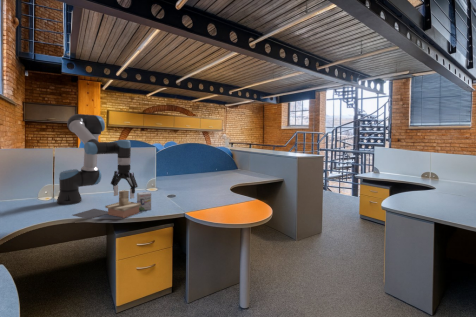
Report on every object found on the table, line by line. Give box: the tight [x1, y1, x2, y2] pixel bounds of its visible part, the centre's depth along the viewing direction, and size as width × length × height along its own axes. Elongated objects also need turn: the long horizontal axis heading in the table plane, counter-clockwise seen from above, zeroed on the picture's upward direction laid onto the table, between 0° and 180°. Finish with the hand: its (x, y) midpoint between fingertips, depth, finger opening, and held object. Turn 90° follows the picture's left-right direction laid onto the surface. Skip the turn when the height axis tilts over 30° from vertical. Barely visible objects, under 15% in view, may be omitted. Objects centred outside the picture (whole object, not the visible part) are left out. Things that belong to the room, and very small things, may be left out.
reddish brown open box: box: [107, 206, 140, 219], centre depth 165 cm, size 13×13×5 cm
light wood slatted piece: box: [104, 189, 141, 211], centre depth 164 cm, size 15×15×10 cm
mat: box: [72, 208, 108, 220], centre depth 162 cm, size 16×16×1 cm
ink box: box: [136, 191, 152, 211], centre depth 176 cm, size 9×5×12 cm, turn 126°
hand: (123, 196), depth 164 cm, fingers open, 13 cm apart
